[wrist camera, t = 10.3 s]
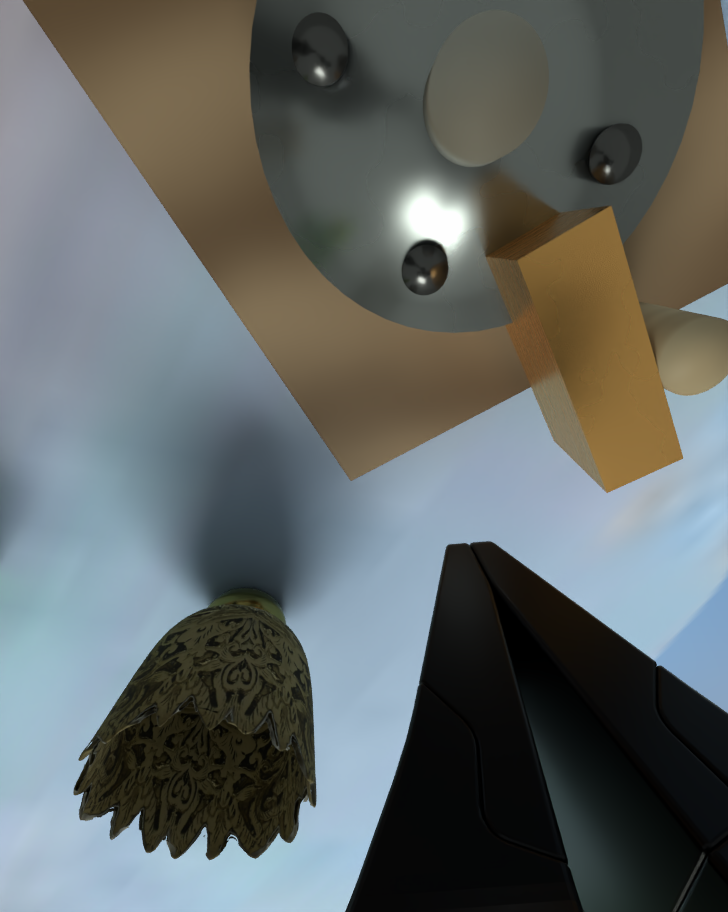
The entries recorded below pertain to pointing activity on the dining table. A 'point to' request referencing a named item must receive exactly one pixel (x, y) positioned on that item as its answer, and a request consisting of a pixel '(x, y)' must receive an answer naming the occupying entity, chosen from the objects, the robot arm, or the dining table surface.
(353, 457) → the post board
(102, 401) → the dining table surface
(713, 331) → the dowel pin
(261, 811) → the cup
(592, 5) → the flange plate
